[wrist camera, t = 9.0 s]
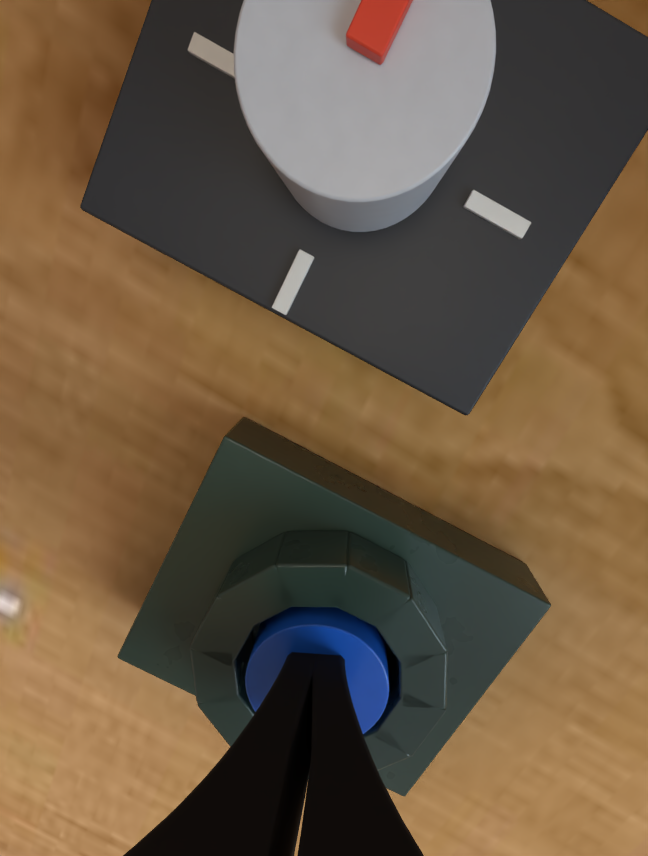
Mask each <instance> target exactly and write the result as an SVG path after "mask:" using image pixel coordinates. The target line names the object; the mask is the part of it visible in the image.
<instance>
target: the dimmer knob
mask: <svg viewBox="0 0 648 856" xmlns="http://www.w3.org/2000/svg"><path fill="white" fill-rule="evenodd" d="M495 57H496V29H495V22H494V14H493V9H492V5H491V1H490V0H244V1H243V4H242V7H241V10H240V13H239V18H238V23H237V27H236V32H235V42H234V76H235V84H236V91H237V95H238V99H239V103H240V107H241V110H242V113H243V116H244V118H245V121H246V124H247V126H248V128H249V130H250V132H251V134H252V136H253V138H254V140H255V142H256V143H257V145H258V146H259V147H260V149H261V150H262V152H263V153H264V155H265V156H266V158H267V159H268V161H269V162H270V163H271V165H272V166H273V168H274V169H275V171H276V172H277V174H278V175H279V176H280V178H281V179H282V181H283V182H284V184H285V185H286V187H287V188H288V189H289V191H290V192H291V194H292V195H293V197H294V198H295V200H296V201H297V202H298V203H299V204H300V205H301V206H302V207H303V209H305V210H306V211H307V212H308V213H309V214H310V215H311V216H313V217H314V218H316V219H317V220H319V221H321V222H322V223H324V224H327V225H329V226H331V227H334V228H337V229H340V230H345V231H351V232H368V231H376V230H379V229H383V228H387V227H389V226H391V225H394V224H396V223H398V222H400V221H402V220H403V219H405V218H407V217H408V216H409V215H411V214H412V213H413V212H415V211H416V210H417V209H418V208H419V207H420V206H421V205H422V204H423V203H424V202H425V201H426V200H427V198H428V197H429V196H430V195H431V193H432V192H433V190H434V189H435V187H436V186H437V184H438V183H439V182H440V180H441V179H442V177H443V176H444V174H445V173H446V171H447V170H448V168H449V167H450V165H451V164H452V162H453V161H454V159H455V158H456V156H457V155H458V153H459V152H460V150H461V149H462V147H463V146H464V144H465V143H466V141H467V140H468V138H469V136H470V135H471V133H472V132H473V130H474V128H475V126H476V124H477V122H478V120H479V118H480V116H481V114H482V112H483V109H484V107H485V104H486V101H487V98H488V95H489V92H490V88H491V83H492V78H493V74H494V67H495Z"/></svg>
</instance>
